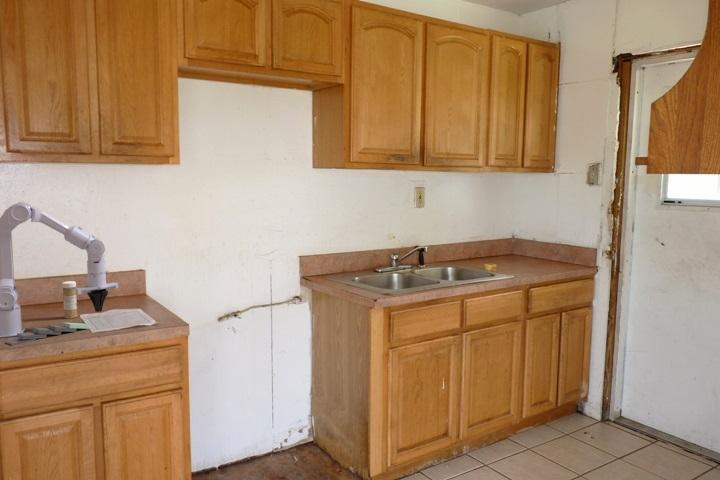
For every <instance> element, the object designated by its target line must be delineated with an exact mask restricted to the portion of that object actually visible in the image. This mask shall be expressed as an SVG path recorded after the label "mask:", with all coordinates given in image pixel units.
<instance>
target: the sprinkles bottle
mask: <svg viewBox="0 0 720 480" xmlns="http://www.w3.org/2000/svg"><path fill="white" fill-rule="evenodd" d="M61 286H62V287H61V288H62V294H63V295H62V297H63V301H62V302H63V318H64V319H75V318H77V317H78V316H79V315H78V302H77V301H78V300H77V294H76V293H75V288H77V282H76V281H74V280H68V281H63V282H62V283H61Z"/></svg>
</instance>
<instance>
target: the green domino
mask: <svg viewBox="0 0 720 480" xmlns="http://www.w3.org/2000/svg"><path fill="white" fill-rule="evenodd" d="M61 326H64V327H68V328H77V329H86V330H87V329H88V330H89V329H90V328H91V325H90V324H86V323H83V322H82V323H81V322H66V321H65V322H62V325H61Z"/></svg>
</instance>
